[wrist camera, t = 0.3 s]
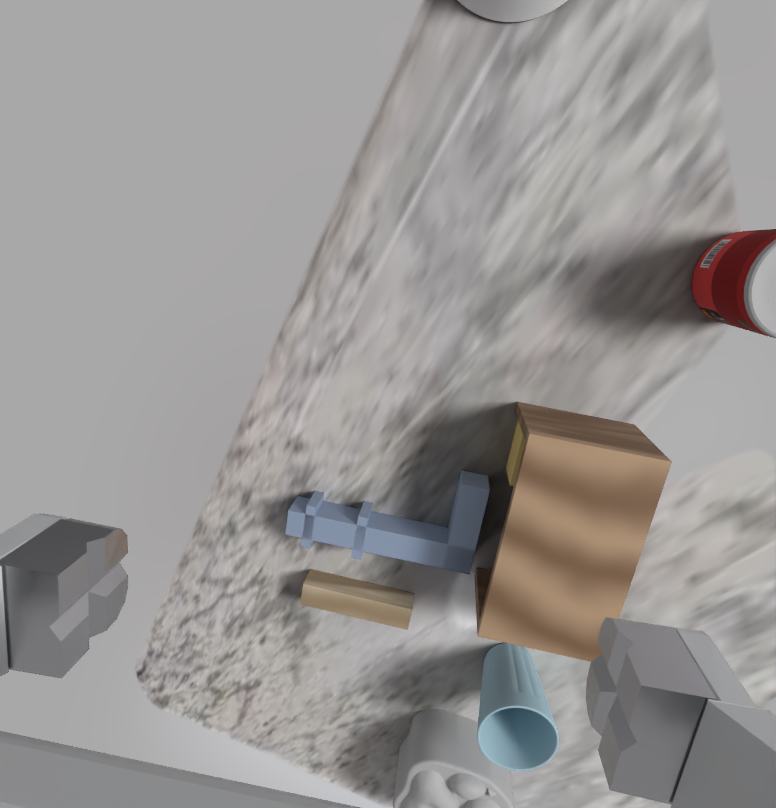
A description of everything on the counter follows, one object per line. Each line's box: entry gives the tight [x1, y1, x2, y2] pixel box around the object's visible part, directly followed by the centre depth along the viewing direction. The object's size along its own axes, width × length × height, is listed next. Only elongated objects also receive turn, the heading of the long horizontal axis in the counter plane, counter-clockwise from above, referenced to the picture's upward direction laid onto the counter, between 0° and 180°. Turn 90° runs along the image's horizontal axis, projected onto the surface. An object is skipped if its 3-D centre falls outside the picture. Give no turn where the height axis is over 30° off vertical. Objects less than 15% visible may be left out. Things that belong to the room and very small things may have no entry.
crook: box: [285, 470, 490, 574], centre depth 59 cm, size 10×19×4 cm, turn 80°
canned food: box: [692, 229, 776, 338], centre depth 45 cm, size 8×8×11 cm
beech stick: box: [300, 569, 414, 630], centre depth 62 cm, size 3×12×3 cm, turn 79°
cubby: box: [475, 402, 671, 662], centre depth 54 cm, size 20×12×10 cm, turn 170°
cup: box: [477, 643, 559, 771], centre depth 59 cm, size 8×8×10 cm
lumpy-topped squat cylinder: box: [393, 709, 515, 808], centre depth 64 cm, size 10×13×9 cm
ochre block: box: [506, 422, 525, 486], centre depth 55 cm, size 6×4×4 cm
